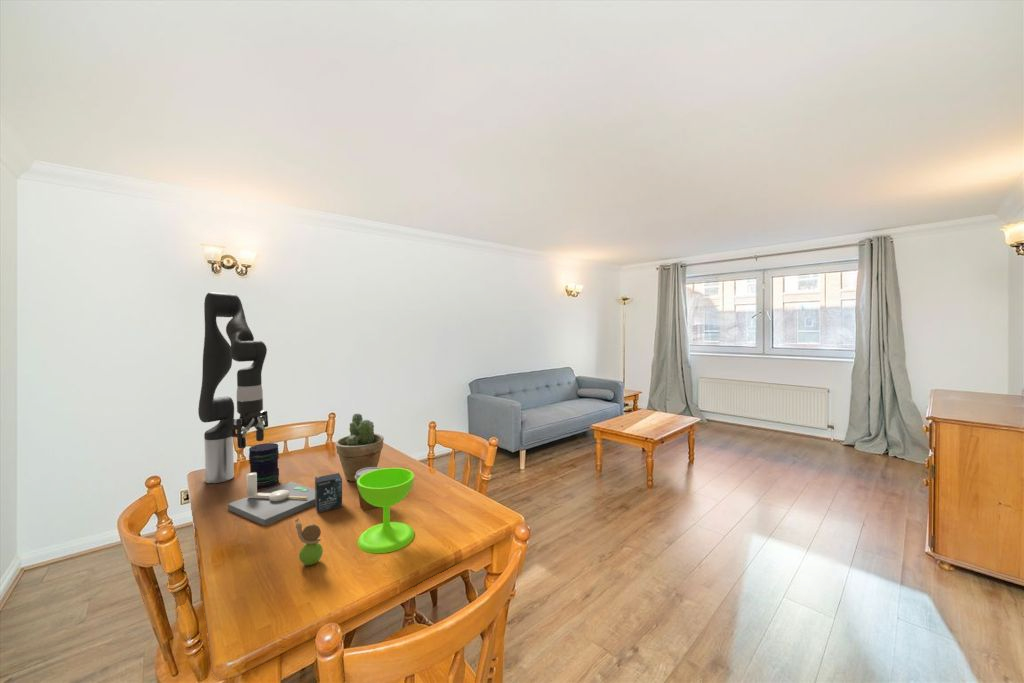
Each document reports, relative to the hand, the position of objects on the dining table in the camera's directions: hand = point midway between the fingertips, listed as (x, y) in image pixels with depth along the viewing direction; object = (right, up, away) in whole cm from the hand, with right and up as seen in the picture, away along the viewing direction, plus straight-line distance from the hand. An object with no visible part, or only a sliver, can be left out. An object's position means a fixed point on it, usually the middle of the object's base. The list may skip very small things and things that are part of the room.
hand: (251, 444), depth 137 cm
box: (+28, -21, -2) cm, 35 cm away
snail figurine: (+38, -23, -34) cm, 56 cm away
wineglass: (+54, -22, -21) cm, 62 cm away
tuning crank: (+10, -19, 0) cm, 21 cm away
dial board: (+10, -21, 0) cm, 23 cm away
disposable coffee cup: (+42, -21, 0) cm, 47 cm away
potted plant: (+28, -20, +25) cm, 43 cm away
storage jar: (-6, -20, +17) cm, 27 cm away
